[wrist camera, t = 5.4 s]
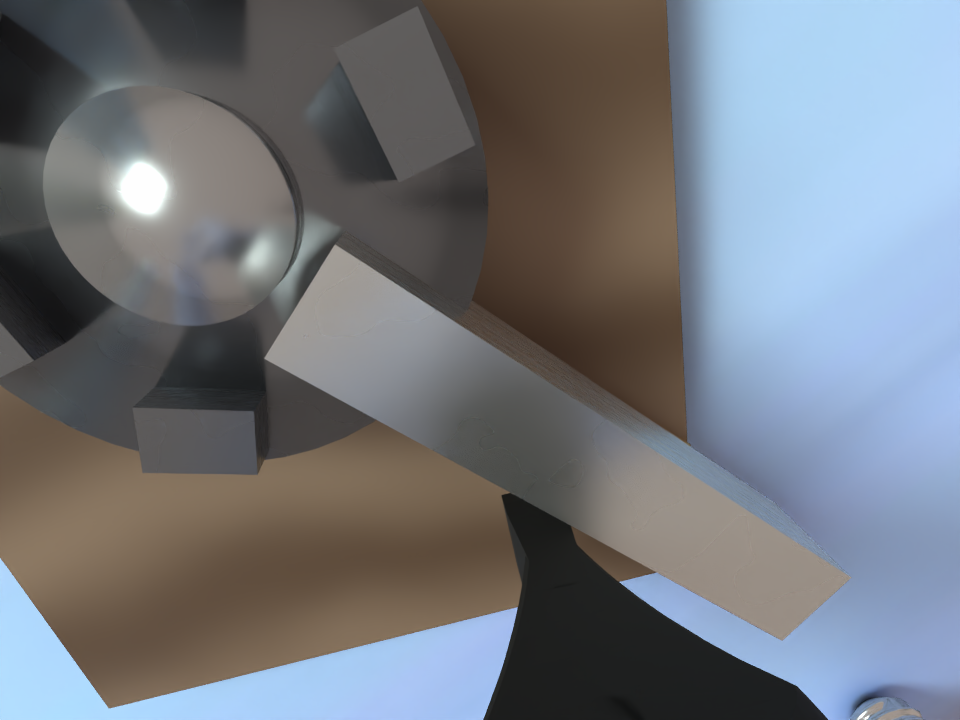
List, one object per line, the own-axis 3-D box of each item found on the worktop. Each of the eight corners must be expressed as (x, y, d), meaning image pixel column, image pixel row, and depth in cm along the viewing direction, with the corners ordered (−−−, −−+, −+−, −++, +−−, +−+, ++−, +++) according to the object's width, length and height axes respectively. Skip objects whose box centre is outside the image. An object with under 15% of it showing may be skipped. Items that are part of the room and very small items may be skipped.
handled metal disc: (-80, 252, 10) (-363, 312, 6) (112, -231, 8) (-146, -558, 4) (611, 599, 16) (673, 739, 12) (830, 369, 14) (987, 452, 10)
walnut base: (672, 530, 18) (696, 564, 16) (133, 663, 17) (107, 711, 15) (629, -131, 11) (663, -174, 9) (-273, 47, 10) (-388, 30, 9)
